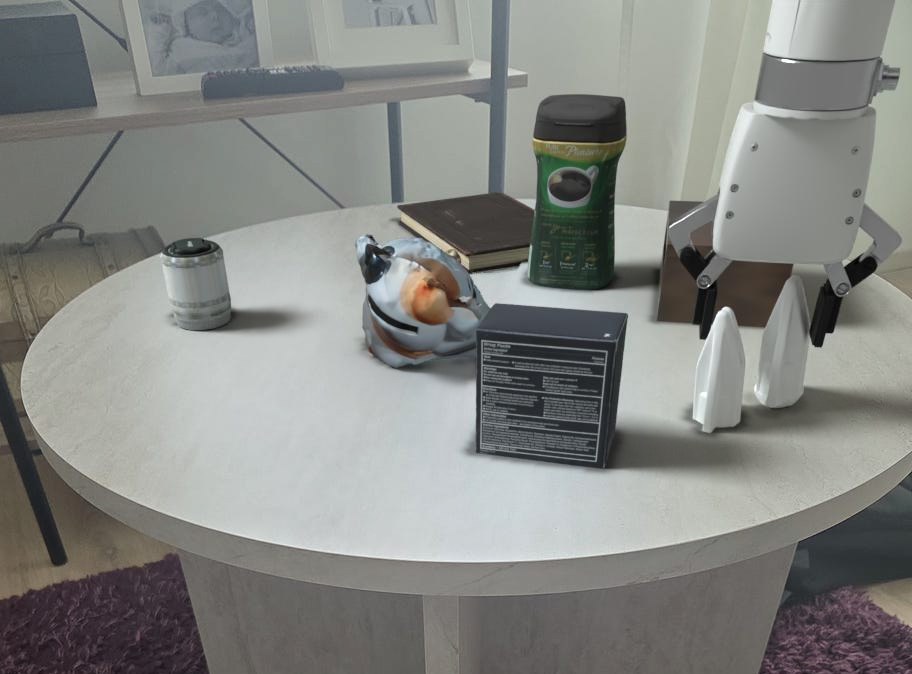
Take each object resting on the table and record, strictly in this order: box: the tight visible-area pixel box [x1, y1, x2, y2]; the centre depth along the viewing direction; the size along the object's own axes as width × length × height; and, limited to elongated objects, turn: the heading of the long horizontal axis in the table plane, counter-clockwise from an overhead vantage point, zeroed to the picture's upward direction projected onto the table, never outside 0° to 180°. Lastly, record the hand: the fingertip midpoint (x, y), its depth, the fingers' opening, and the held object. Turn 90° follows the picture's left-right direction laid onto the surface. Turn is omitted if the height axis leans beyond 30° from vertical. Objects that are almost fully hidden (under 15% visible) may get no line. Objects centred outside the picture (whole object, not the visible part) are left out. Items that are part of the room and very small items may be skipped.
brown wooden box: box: [656, 200, 795, 328], centre depth 96 cm, size 12×16×8 cm
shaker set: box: [692, 274, 811, 434], centre depth 74 cm, size 12×4×11 cm, turn 118°
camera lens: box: [159, 237, 232, 331], centre depth 94 cm, size 6×6×8 cm
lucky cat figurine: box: [354, 233, 491, 369], centre depth 84 cm, size 15×12×14 cm
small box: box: [474, 302, 629, 470], centre depth 70 cm, size 11×6×10 cm, turn 73°
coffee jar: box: [526, 93, 628, 291], centre depth 98 cm, size 10×8×19 cm
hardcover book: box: [396, 191, 535, 274], centre depth 117 cm, size 16×23×2 cm
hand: (758, 336), depth 73 cm, fingers closed on shaker set, 8 cm apart
